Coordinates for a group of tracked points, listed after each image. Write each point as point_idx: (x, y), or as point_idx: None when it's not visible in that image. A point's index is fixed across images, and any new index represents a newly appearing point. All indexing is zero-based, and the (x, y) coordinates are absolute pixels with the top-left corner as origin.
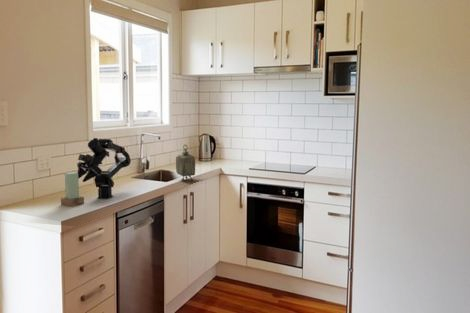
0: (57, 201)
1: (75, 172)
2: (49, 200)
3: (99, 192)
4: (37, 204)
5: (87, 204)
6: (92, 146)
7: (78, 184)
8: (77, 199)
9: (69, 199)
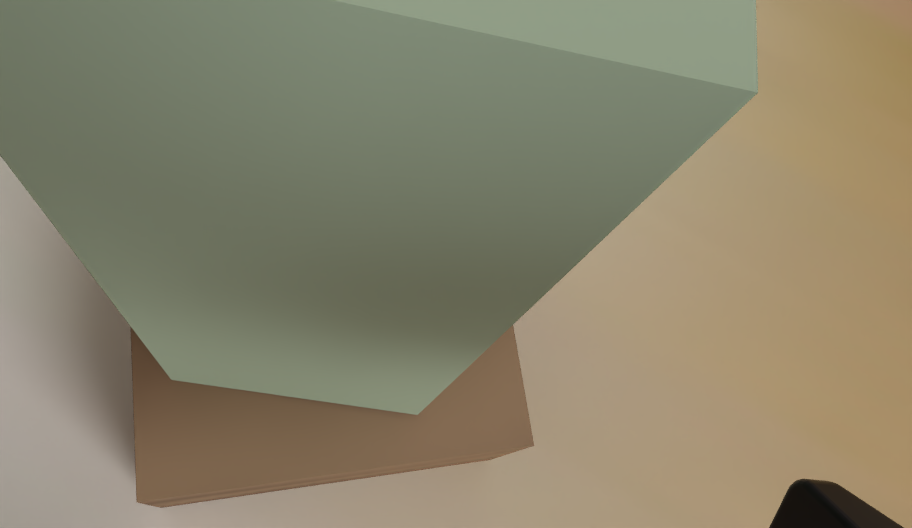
0: (744, 280)
1: (451, 18)
2: (900, 242)
3: None
4: (756, 8)
5: (13, 516)
6: None
7: (92, 268)
8: None
9: None
